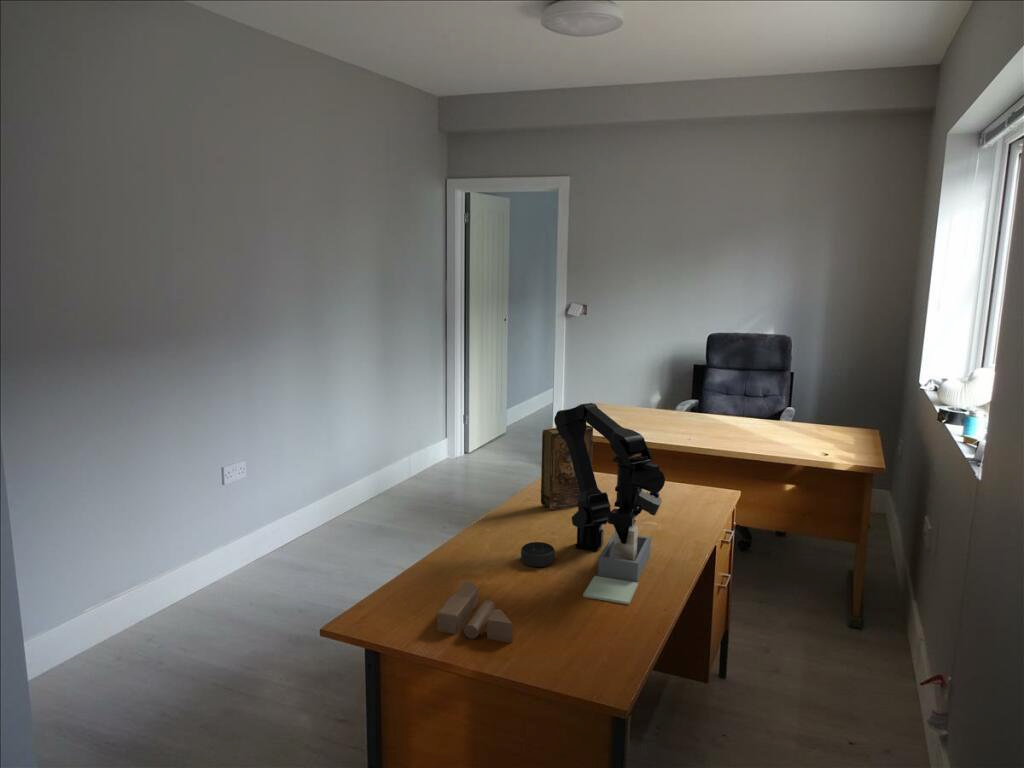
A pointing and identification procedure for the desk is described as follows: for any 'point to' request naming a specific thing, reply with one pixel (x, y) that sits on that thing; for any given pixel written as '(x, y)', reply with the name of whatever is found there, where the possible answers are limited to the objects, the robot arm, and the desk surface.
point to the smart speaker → (537, 554)
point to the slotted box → (624, 561)
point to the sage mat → (611, 590)
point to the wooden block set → (460, 610)
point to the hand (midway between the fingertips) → (626, 539)
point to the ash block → (626, 545)
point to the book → (560, 470)
